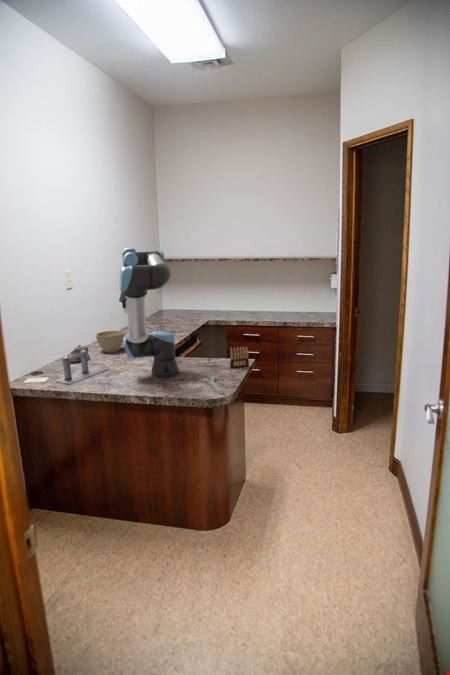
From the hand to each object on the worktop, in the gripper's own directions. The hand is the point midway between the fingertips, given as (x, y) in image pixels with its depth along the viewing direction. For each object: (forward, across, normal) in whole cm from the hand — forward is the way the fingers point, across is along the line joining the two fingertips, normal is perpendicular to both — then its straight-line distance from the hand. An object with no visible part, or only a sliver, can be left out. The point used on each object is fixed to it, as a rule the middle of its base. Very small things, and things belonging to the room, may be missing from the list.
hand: (133, 311), depth 264 cm
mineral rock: (+31, +13, -35) cm, 49 cm away
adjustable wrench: (+31, +19, +65) cm, 75 cm away
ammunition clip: (+31, -15, +62) cm, 71 cm away
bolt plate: (+31, +33, -10) cm, 46 cm away
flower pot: (+31, -13, -33) cm, 47 cm away
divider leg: (+29, +32, -10) cm, 44 cm away
